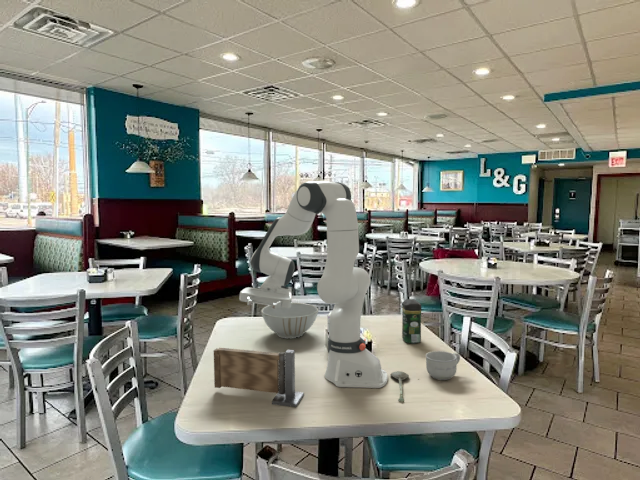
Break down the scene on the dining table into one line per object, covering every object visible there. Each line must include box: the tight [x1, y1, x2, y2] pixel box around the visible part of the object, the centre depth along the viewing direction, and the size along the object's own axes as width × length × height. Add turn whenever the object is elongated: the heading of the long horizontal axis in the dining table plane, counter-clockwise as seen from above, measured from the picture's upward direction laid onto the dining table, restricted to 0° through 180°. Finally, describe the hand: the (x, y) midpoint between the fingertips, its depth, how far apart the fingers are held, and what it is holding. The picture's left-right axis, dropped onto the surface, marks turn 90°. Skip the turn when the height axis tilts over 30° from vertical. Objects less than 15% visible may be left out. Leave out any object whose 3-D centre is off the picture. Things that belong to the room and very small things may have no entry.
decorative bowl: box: [260, 302, 319, 339], centre depth 196 cm, size 27×27×12 cm
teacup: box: [425, 350, 461, 381], centre depth 149 cm, size 14×11×8 cm
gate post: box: [271, 349, 305, 408], centre depth 131 cm, size 8×8×16 cm
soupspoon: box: [389, 370, 409, 402], centre depth 142 cm, size 22×3×7 cm
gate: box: [213, 347, 285, 394], centre depth 135 cm, size 24×2×13 cm, turn 76°
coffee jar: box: [401, 298, 422, 345], centre depth 187 cm, size 10×8×19 cm
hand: (261, 305), depth 153 cm, fingers open, 8 cm apart
